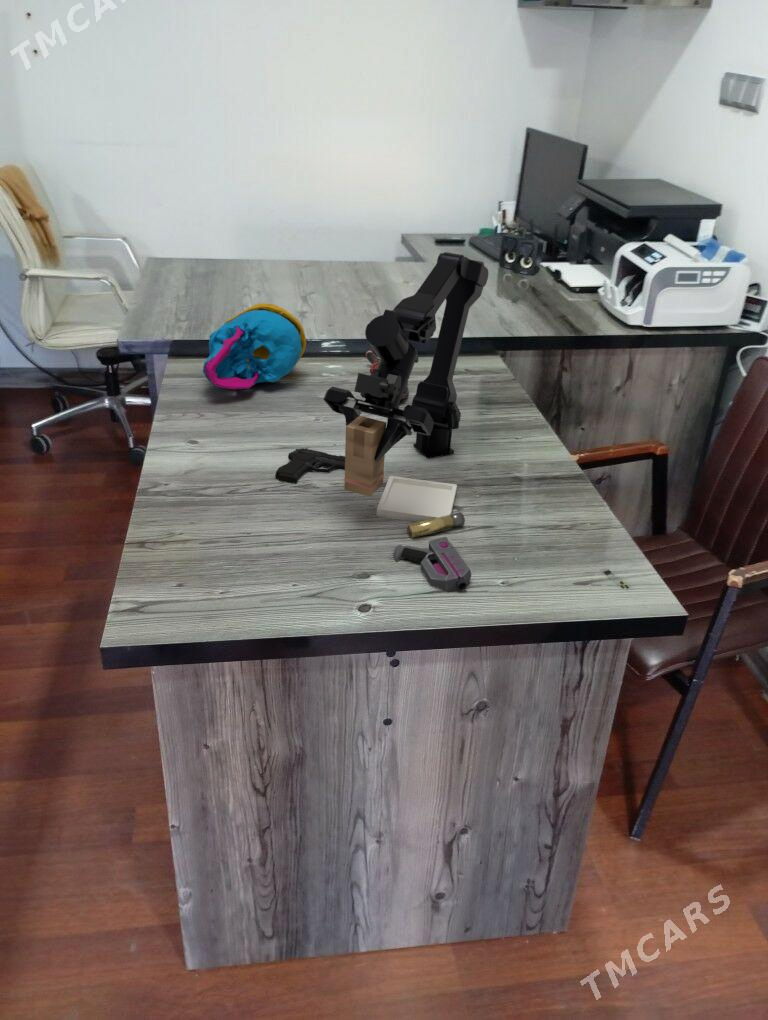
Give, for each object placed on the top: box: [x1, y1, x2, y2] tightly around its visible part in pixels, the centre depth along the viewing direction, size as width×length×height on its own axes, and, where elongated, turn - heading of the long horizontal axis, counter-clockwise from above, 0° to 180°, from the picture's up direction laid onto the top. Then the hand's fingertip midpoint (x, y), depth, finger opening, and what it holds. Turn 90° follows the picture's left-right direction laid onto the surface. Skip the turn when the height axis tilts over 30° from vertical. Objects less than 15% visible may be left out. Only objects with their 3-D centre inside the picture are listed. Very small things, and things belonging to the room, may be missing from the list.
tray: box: [376, 475, 458, 523], centre depth 154 cm, size 13×13×2 cm
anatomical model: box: [202, 302, 307, 390], centre depth 195 cm, size 18×25×25 cm
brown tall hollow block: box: [343, 415, 387, 498], centre depth 141 cm, size 5×5×12 cm
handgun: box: [274, 447, 345, 485], centre depth 162 cm, size 3×17×12 cm
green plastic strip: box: [603, 569, 629, 589], centre depth 136 cm, size 6×1×2 cm
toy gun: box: [393, 536, 472, 592], centre depth 135 cm, size 14×3×10 cm
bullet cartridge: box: [406, 511, 466, 539], centre depth 146 cm, size 10×2×2 cm, turn 118°
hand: (361, 456), depth 140 cm, fingers closed on brown tall hollow block, 5 cm apart
